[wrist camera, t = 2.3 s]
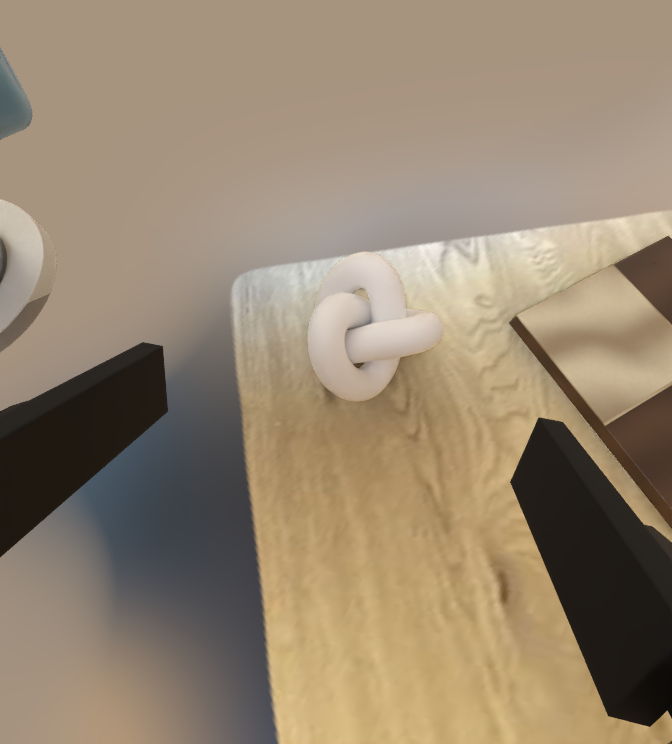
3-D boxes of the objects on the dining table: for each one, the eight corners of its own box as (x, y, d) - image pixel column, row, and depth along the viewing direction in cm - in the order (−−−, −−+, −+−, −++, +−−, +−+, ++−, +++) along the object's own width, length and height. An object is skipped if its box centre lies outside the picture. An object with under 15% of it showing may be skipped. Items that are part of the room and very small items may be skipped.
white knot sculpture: (388, 436, 32) (405, 412, 24) (277, 375, 35) (257, 334, 26) (439, 337, 36) (470, 286, 27) (335, 287, 38) (333, 225, 29)
